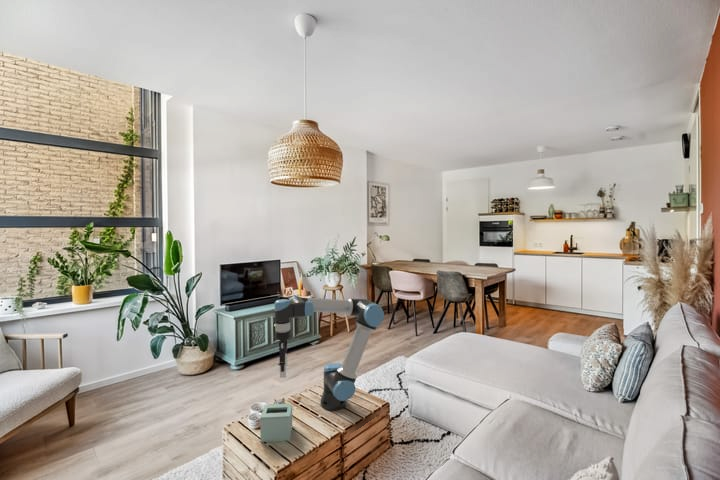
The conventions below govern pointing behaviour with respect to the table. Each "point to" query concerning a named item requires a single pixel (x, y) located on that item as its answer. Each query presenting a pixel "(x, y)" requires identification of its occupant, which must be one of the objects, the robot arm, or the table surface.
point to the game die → (279, 401)
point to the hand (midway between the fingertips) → (283, 371)
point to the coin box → (276, 423)
